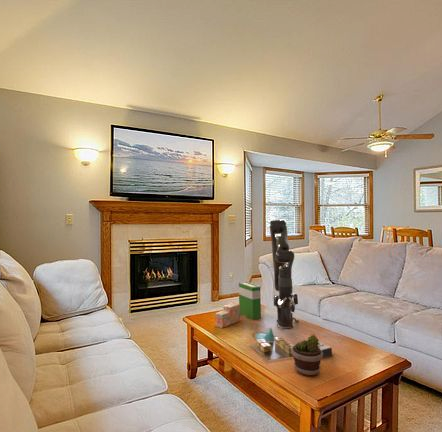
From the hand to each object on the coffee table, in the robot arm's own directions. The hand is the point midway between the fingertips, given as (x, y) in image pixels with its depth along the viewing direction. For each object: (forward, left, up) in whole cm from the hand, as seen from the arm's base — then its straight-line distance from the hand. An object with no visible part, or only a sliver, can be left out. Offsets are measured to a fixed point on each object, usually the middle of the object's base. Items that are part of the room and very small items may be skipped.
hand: (286, 312), depth 174 cm
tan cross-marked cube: (+2, +6, -20) cm, 21 cm away
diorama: (+5, -17, -22) cm, 28 cm away
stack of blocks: (+18, -48, -21) cm, 56 cm away
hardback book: (-4, -59, -21) cm, 63 cm away
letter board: (+8, +2, -21) cm, 22 cm away
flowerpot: (+5, +26, -21) cm, 33 cm away
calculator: (-13, +8, -21) cm, 26 cm away
